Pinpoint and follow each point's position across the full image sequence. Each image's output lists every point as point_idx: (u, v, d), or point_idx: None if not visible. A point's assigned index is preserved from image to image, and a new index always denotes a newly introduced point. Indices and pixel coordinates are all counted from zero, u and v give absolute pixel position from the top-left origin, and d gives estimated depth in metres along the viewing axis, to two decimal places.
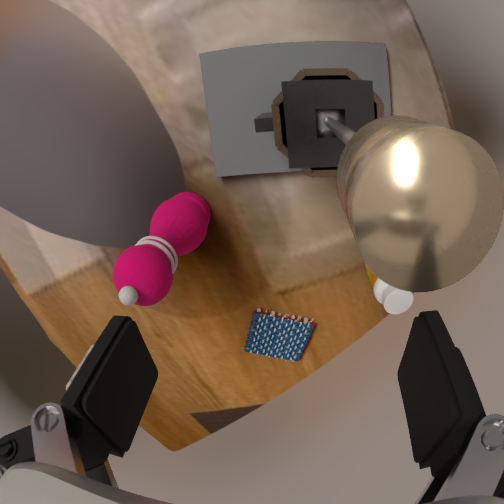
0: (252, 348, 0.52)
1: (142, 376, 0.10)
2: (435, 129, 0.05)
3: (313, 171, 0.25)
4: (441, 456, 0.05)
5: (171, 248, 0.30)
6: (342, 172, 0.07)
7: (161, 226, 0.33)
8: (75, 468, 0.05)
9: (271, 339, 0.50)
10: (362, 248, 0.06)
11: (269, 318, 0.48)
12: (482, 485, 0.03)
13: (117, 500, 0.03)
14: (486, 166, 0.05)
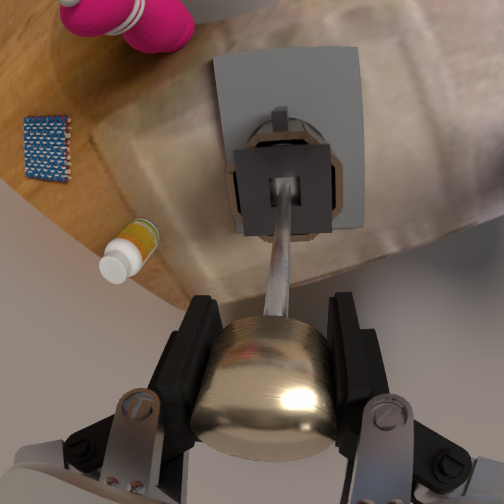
0: (28, 125, 0.34)
1: None
2: (336, 432, 0.06)
3: (231, 174, 0.24)
4: (342, 431, 0.07)
5: (130, 26, 0.18)
6: (281, 335, 0.08)
7: (155, 8, 0.20)
8: (149, 472, 0.05)
9: (41, 142, 0.35)
10: (226, 403, 0.06)
11: (62, 134, 0.34)
12: (362, 463, 0.05)
13: (117, 501, 0.03)
14: (308, 453, 0.07)
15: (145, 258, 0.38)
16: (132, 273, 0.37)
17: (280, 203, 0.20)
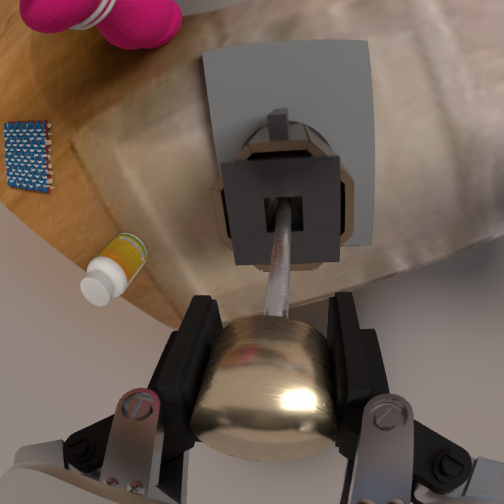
0: (8, 131, 0.30)
1: None
2: (336, 432, 0.06)
3: (219, 192, 0.20)
4: (342, 431, 0.07)
5: (101, 18, 0.14)
6: (281, 335, 0.08)
7: None
8: (149, 472, 0.05)
9: (21, 149, 0.31)
10: (226, 403, 0.06)
11: (42, 140, 0.31)
12: (362, 463, 0.05)
13: (117, 500, 0.03)
14: (308, 454, 0.07)
15: (130, 277, 0.34)
16: (116, 294, 0.33)
17: (280, 203, 0.20)
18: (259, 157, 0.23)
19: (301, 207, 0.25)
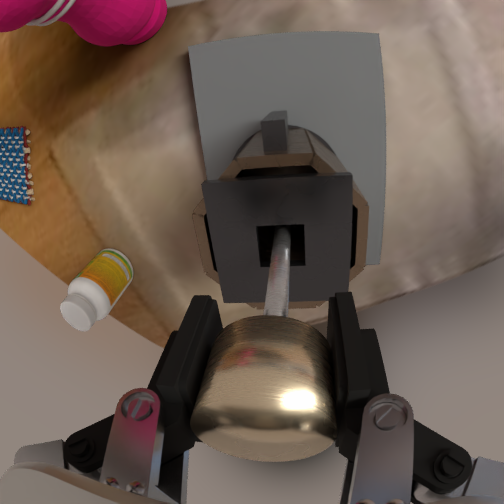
0: None
1: None
2: (336, 432, 0.06)
3: (202, 217, 0.16)
4: (341, 431, 0.07)
5: (64, 10, 0.11)
6: (281, 335, 0.08)
7: None
8: (149, 472, 0.05)
9: (1, 158, 0.28)
10: (226, 403, 0.06)
11: (20, 149, 0.27)
12: (362, 462, 0.05)
13: (118, 500, 0.03)
14: (308, 453, 0.07)
15: (114, 299, 0.30)
16: (99, 318, 0.29)
17: None
18: None
19: None
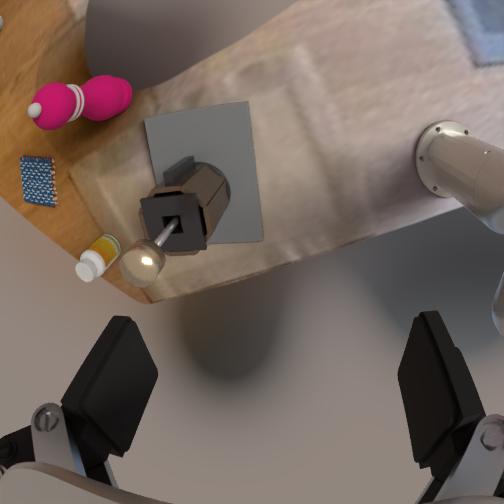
0: (23, 163, 0.47)
1: (142, 376, 0.10)
2: (153, 268, 0.27)
3: (142, 213, 0.37)
4: (441, 456, 0.05)
5: (77, 116, 0.31)
6: (143, 243, 0.28)
7: (94, 96, 0.33)
8: (75, 468, 0.05)
9: (34, 176, 0.48)
10: (125, 255, 0.27)
11: (48, 171, 0.47)
12: (482, 485, 0.03)
13: (118, 501, 0.03)
14: (150, 281, 0.28)
15: (108, 264, 0.51)
16: (98, 274, 0.50)
17: None
18: None
19: None
